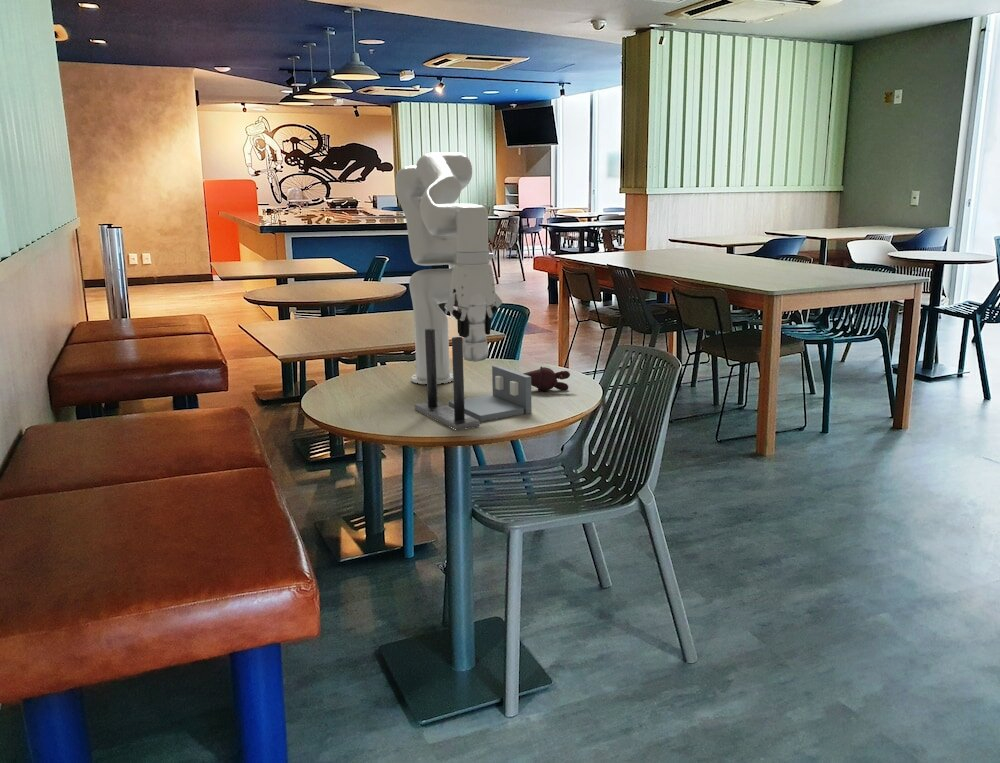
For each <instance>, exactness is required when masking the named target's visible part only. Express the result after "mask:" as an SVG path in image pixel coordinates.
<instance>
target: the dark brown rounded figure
mask: <svg viewBox="0 0 1000 763" xmlns="http://www.w3.org/2000/svg"><path fill="white" fill-rule="evenodd" d="M522 374H525V375H528V376H531V387H535V388H537V391H538V392H540V391H541V392H547V391H550V390H552V389H553V388H555V389H557V390H560V391H567V390H568V389H569V385H568V383H565V382H561V381H562V380H566V379H569V378H570V376H571V373H570V372H569V371H568V370H561V371H557V372H555V371H554V370H553V369H551V368H549V367H545V366H544V367H543V366H540V368H539V369H535V370H531V371H527V372H525V373H522ZM558 380H561V381H558Z"/></svg>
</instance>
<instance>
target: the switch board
mask: <svg viewBox="0 0 1000 763" xmlns="http://www.w3.org/2000/svg"><path fill="white" fill-rule="evenodd" d="M491 374H492V375H491V377H492V384H491V385H492V394H486V395H480V396H474V397H468V398H464V409H465V414H466V415H468V416H470V417H473V418H475V419H477V420H479V423H482V422H487V420H489V421H492V420H491V419H494V420H497V419H496V418H500V419H503V418H502V417H505V418H508V417H507V416H510V417H513V416H512V415H516V416H519V414H521V415H524V414H526V413H527V414H530V413H529V412H532V411H533V410H532V409H533V408H532V385H531V376H528V375H525V374H523V373H522V372H519V371H516V370H513V369H511V368H507V367H505V366H504V367H503V366H501V365H498V364H496V365H491ZM448 406H449V407H451V408H453V409H454V400H450V401H448ZM524 412H525V413H524ZM532 413H533V412H532Z"/></svg>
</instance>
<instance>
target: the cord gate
mask: <svg viewBox="0 0 1000 763" xmlns="http://www.w3.org/2000/svg"><path fill="white" fill-rule="evenodd" d="M425 346H426V372H427V385H426V389H427V390H426V392H427V393H426V394H427V396H426V397H427V401H426V402H425V401H424V402H420V403H415V404H414V410H415V411H417V410H418V411H417V412H419V411H420V412H419V413H421V412H422V413H421V414H423V415H424V414H426V415H428V416H430V417H432V418H434V419H436V420H438V421H440V422H442V423H444V424H446V425H448V426H450V427H452V428H454V429H456V430H458V431H460V430H459V429H464V430H466V429H465V428H469V429H473V428H472V427H475V428H478V427H477V426H479V427H480V421H479V420H477V419H475V418H473V417H470V416H468V415H466V414H465V409H464V399H465V385H464V384H465V383H464V382H465V381H464V380H465V379H464V358H463V337H461V336H453V337H451V350H452V351H451V353H452V354H451V356H452V373H453V381H452V383H453V385H452V388H453V401H454V409H453V408H451V407H449V405H447V404H444V403H443V402H440V401H439V400H438V384H437V375H436V348H435V329H425ZM426 415H425V416H426ZM428 416H427V417H428ZM430 417H429V418H430ZM432 418H431V419H432ZM434 419H433V420H434ZM436 420H435V421H436ZM438 421H437V422H438ZM440 422H439V423H440ZM442 423H441V424H442ZM444 424H443V425H444ZM446 425H445V426H446ZM448 426H447V427H448ZM450 427H449V428H450ZM452 428H451V429H452ZM454 429H453V430H454ZM456 430H455V431H456Z"/></svg>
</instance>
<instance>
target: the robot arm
mask: <svg viewBox="0 0 1000 763" xmlns="http://www.w3.org/2000/svg"><path fill="white" fill-rule="evenodd" d="M472 166H473V165H472V163H471V160H470V158H469V157H468V155H466V154H464V153H462V152H444V151H443V152H442V151H441V152H428V153H425V154H423V155H422V156H420V157H419V158H418V160H417V163H416V165H414V164H413V165H407V166H404V167H401V168H400V169H399V170H398V171H397V173H396V175H395V181H394V182H395V190H396V191H395V192H396V197H397V200H398V201H399V204H400V207H401V209H402V211H403V214H404V217H405V222H406V229H407V236H408V245H409V252H410V256H411V260H412V261H413V263H414V264H416V265H418V266H443V265H444V266H445V265H447V266H449V268H435V269H434V268H430V269H421V270H418V271H416V272H414V273H413V274H412V275H411V276H410V277H409V282H408V283H409V284H408V285H409V291H410V297H411V302H412V310H413V320H414V322H413V323H414V326H413V327H414V343H415V365H414V367H415V370H416V373H415V374H413V375H412V376H410V379H411V380H410V381H411V382H413V383H414V384H417V383H418V384H419V385H425V384H427V372H426V346H425V329H435V348H436V375H437V385H442V384H441V383H444V384H448V382H449V383H451V381H452V382H453V372H450V371H451V368H450V342H449V338H450V336H449V320H448V316H447V315H446V313H445V312H444V311H443V309H442V308H441V307H440V304H444V309H445V310H446V311H447V312H448V313H450V314H451V315H452V317H454V319H455V320H457V321H456V322H457V334H458V337H462V338H463V337H464V338H466V337H467V336H468V335H467V321H465V317H466V313H467V311H466V308H468V307H469V306H468V305H469V301H470V298H471V297H472V296H473V295H475V294H477V293H481V294H483V295H484V296H485V297H486V299H487V305H486V306H487V309H486V322H485V330H486V336H487V335H488V336H490V335H491V330H492V318H493V316H494V314H495V313H496V312H497V310H498V308H499V307H500V306H501V305H502V304H503V300H502V299H501V298H500V296H499V295H498V294H497V293H496V286H495V277H494V271H493V267H492V264H491V263H490V259H493V258H494V253H493V252H490V250H489V211H488V208H487V207H486V206H485V205H482V204H476V203H455V202H456V201H457V200H459V197H460V195H461V192H462V191H463V189H465V188H466V187H467V186H468V185H469V184H470V182H471V179H472V177H473V167H472ZM455 307H456V308H455Z"/></svg>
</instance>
